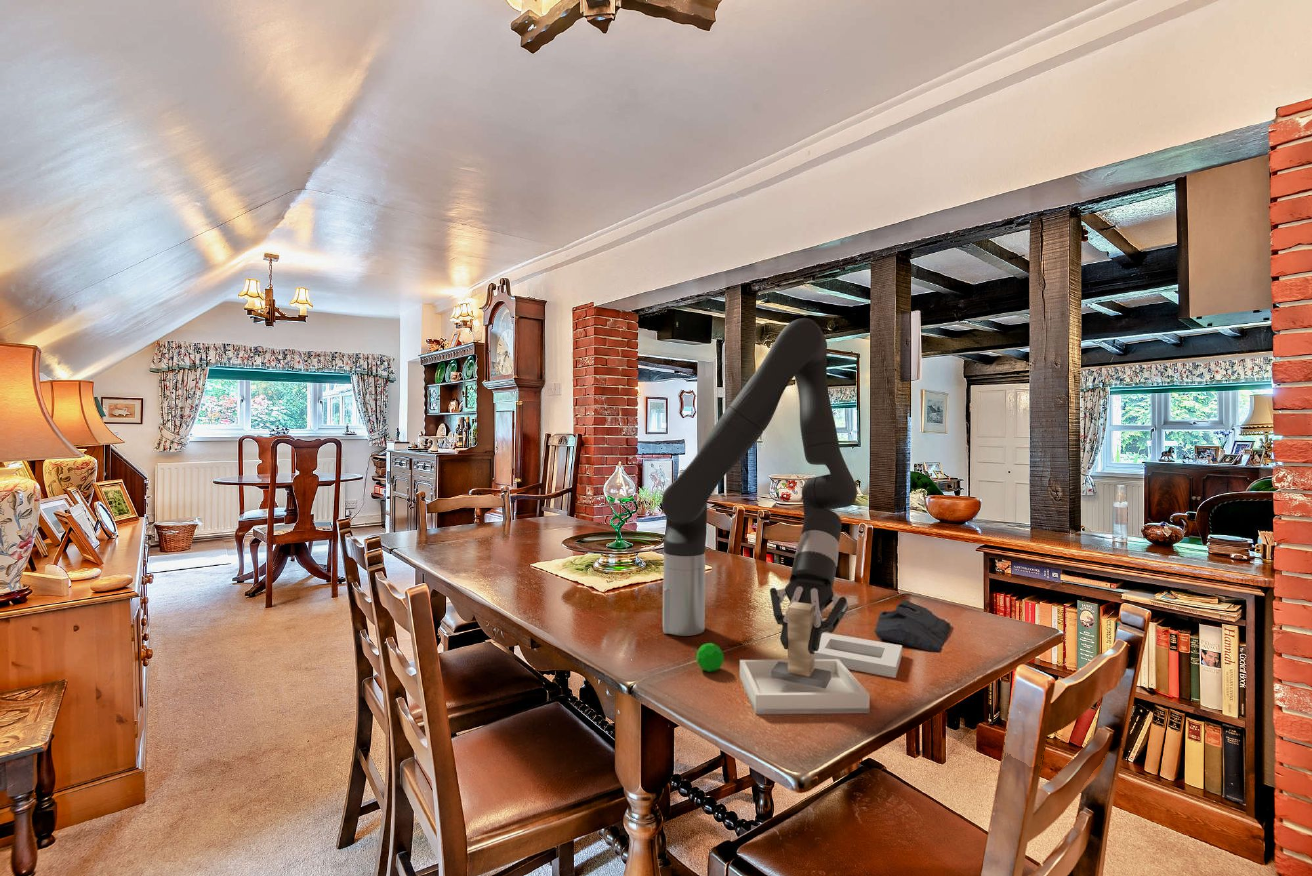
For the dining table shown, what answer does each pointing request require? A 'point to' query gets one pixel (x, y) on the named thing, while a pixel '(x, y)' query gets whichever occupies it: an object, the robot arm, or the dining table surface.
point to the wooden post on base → (800, 650)
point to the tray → (802, 690)
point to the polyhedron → (709, 657)
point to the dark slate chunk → (913, 627)
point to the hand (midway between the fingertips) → (798, 649)
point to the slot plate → (861, 646)
